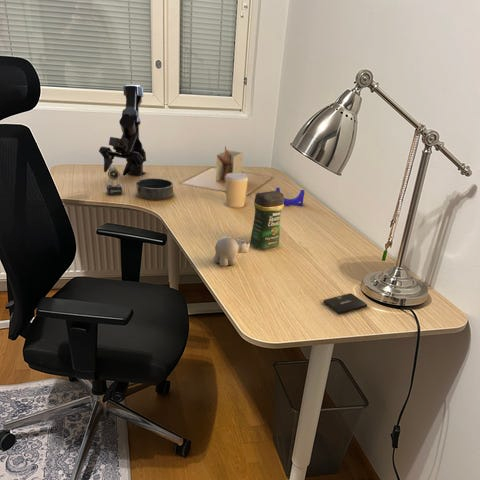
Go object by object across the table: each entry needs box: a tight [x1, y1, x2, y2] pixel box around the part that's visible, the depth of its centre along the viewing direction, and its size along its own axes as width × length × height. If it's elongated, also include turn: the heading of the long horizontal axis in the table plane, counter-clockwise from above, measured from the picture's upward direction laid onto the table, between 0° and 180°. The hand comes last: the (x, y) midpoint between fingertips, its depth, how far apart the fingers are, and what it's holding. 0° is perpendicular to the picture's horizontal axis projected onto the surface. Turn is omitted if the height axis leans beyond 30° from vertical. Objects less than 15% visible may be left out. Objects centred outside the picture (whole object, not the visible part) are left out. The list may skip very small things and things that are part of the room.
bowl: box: [135, 177, 174, 201], centre depth 196 cm, size 15×15×5 cm
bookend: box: [214, 146, 246, 182], centre depth 219 cm, size 9×11×17 cm
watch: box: [106, 165, 123, 196], centre depth 193 cm, size 6×8×11 cm
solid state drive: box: [323, 293, 368, 315], centre depth 127 cm, size 7×10×1 cm
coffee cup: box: [225, 173, 248, 208], centre depth 190 cm, size 9×9×12 cm
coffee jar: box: [249, 189, 285, 250], centre depth 153 cm, size 10×8×19 cm
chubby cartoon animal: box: [213, 236, 250, 267], centre depth 143 cm, size 7×12×8 cm, turn 120°
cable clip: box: [275, 187, 305, 207], centre depth 197 cm, size 12×4×6 cm, turn 84°
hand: (114, 173), depth 192 cm, fingers open, 9 cm apart
